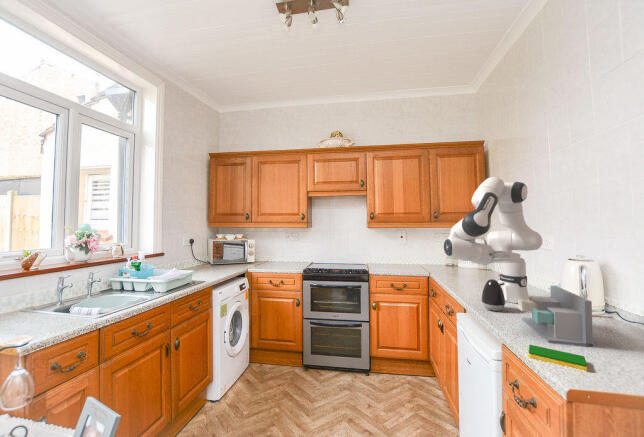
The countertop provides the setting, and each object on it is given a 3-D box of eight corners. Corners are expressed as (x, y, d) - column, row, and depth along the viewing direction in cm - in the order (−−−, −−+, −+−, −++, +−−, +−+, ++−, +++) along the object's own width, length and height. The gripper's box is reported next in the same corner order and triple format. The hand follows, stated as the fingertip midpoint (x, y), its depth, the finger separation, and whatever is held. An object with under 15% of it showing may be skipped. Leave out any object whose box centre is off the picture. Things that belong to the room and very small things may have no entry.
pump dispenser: (501, 314, 130) (500, 282, 130) (478, 309, 138) (477, 279, 139) (509, 310, 136) (508, 279, 136) (487, 305, 145) (486, 276, 145)
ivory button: (522, 311, 116) (522, 301, 117) (518, 308, 121) (518, 298, 121) (545, 313, 114) (545, 302, 114) (540, 309, 118) (540, 299, 118)
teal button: (537, 323, 103) (537, 311, 103) (532, 319, 107) (532, 308, 107) (563, 325, 101) (563, 313, 101) (557, 321, 105) (557, 309, 105)
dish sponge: (587, 373, 80) (587, 365, 80) (528, 359, 89) (528, 351, 89) (584, 363, 86) (584, 355, 86) (529, 351, 95) (529, 344, 95)
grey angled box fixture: (548, 342, 100) (547, 299, 100) (522, 319, 123) (521, 284, 123) (596, 347, 96) (595, 301, 96) (559, 322, 118) (558, 285, 119)
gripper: (500, 245, 107) (534, 253, 107) (470, 248, 127) (499, 254, 127) (498, 261, 106) (533, 269, 106) (469, 261, 126) (498, 267, 126)
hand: (514, 261), depth 117 cm, fingers open, 8 cm apart
